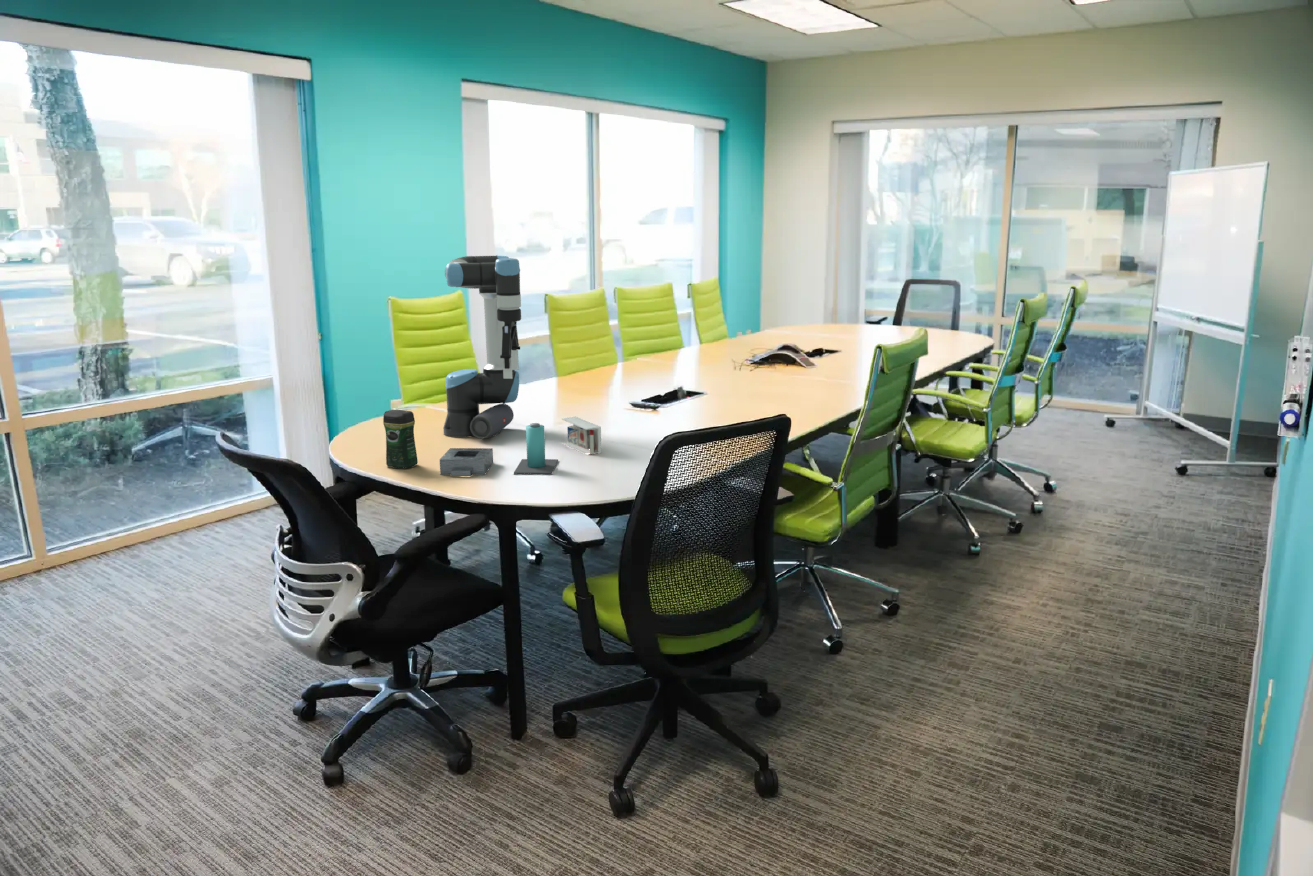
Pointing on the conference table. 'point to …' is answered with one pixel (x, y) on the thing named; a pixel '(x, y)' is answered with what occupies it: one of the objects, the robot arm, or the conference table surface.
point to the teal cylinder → (535, 445)
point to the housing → (466, 461)
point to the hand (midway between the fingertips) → (511, 374)
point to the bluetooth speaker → (491, 421)
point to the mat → (545, 470)
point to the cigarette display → (583, 435)
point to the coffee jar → (400, 439)
